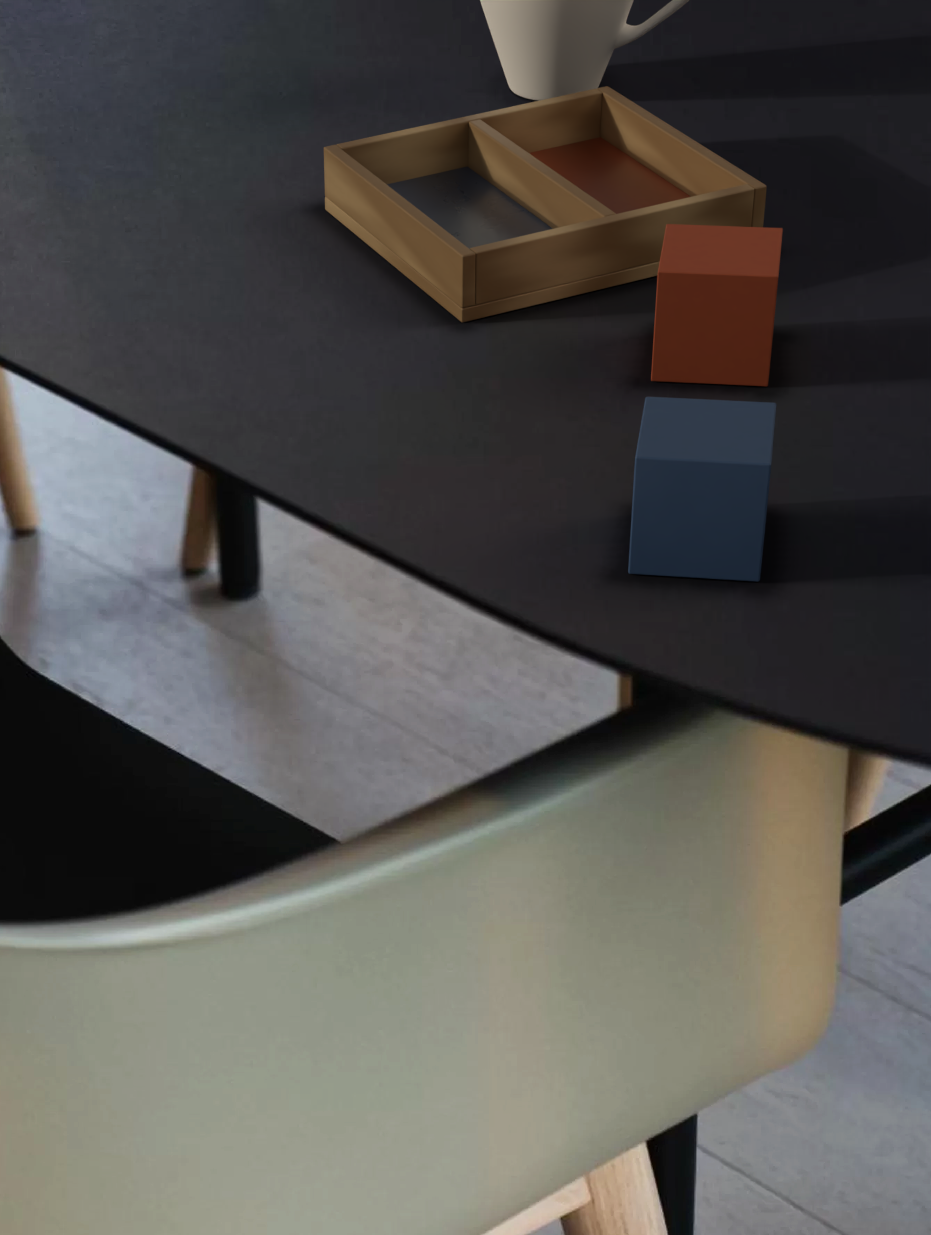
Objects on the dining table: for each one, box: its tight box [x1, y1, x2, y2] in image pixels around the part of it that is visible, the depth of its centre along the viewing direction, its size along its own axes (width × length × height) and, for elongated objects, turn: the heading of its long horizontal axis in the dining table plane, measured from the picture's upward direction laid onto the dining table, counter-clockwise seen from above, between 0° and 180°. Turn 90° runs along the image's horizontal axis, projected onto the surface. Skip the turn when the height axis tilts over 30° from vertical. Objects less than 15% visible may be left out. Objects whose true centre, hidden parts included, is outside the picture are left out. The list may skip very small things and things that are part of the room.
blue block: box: [627, 396, 777, 583], centre depth 85 cm, size 4×4×4 cm
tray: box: [323, 85, 768, 323], centre depth 106 cm, size 14×13×3 cm
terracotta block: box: [650, 224, 784, 387], centre depth 95 cm, size 4×4×4 cm
